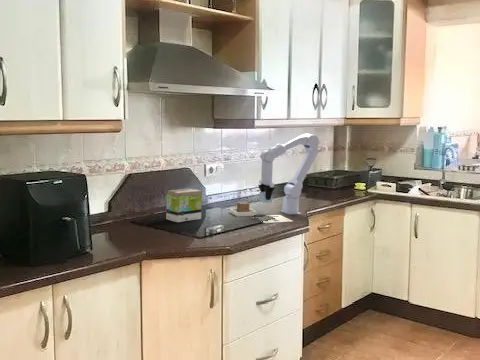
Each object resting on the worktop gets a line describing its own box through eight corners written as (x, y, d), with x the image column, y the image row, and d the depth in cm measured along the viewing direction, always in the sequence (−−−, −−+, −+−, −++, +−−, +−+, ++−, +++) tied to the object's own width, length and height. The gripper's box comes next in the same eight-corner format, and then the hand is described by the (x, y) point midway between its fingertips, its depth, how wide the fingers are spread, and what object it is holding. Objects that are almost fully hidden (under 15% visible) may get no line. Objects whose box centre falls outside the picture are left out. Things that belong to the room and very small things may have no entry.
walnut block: (236, 213, 298) (236, 202, 298) (245, 212, 300) (245, 201, 300) (240, 215, 294) (240, 203, 293) (249, 214, 296) (249, 203, 295)
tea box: (178, 223, 273) (179, 192, 271) (165, 219, 280) (166, 190, 278) (201, 219, 284) (202, 190, 282) (188, 215, 291) (189, 187, 289)
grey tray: (229, 213, 300) (229, 208, 300) (248, 212, 304) (248, 207, 304) (237, 217, 290) (237, 212, 290) (256, 216, 294) (256, 211, 294)
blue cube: (259, 201, 300) (259, 191, 299) (268, 200, 302) (268, 191, 301) (263, 202, 296) (263, 193, 295) (271, 202, 297) (272, 193, 297)
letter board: (251, 217, 292) (251, 216, 291) (279, 215, 297) (279, 214, 297) (264, 223, 277) (264, 222, 277) (293, 222, 283) (293, 221, 283)
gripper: (254, 171, 302) (253, 196, 304) (265, 175, 288) (264, 201, 290) (266, 171, 304) (265, 196, 306) (278, 175, 291) (277, 201, 293)
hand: (265, 198), depth 299 cm, fingers closed on blue cube, 5 cm apart
